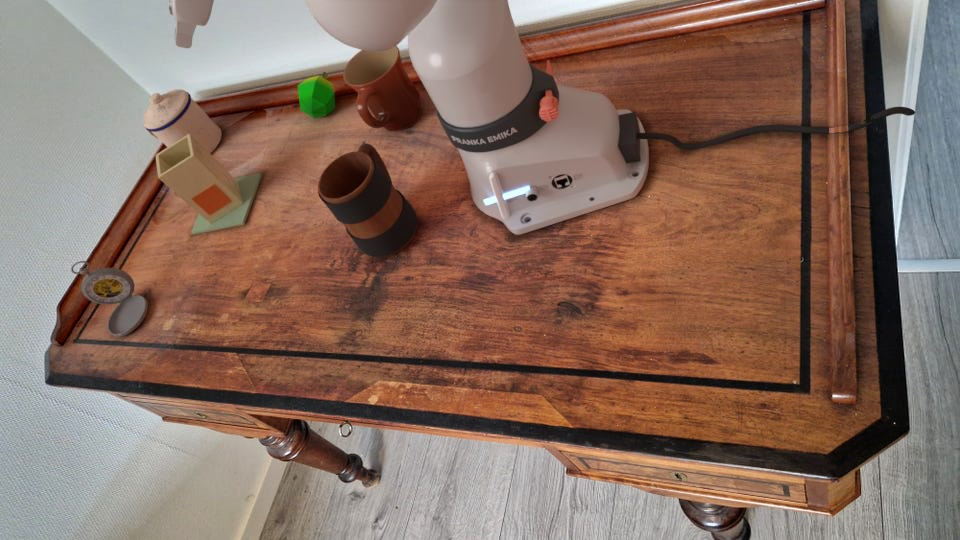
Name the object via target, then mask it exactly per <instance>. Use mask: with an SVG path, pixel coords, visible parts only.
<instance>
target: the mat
mask: <svg viewBox="0 0 960 540" xmlns="http://www.w3.org/2000/svg"><path fill="white" fill-rule="evenodd" d="M234 178H235V180H237V181H238V185H239V189H240V193H241V197H242V201H243V204H242V205H240V206H239V207H237V208H236V209H234V210H232V211H231V212H229V213H228V214H226V215H225V216H223V217H221V218H220V219H218V220H217V221H215V222H213V223H212V224H210V223H209V222H208V221H206V220H205V219H204V218H203V217H202V216H201V215H200V214H198V213H197V217H196V218H195V221H194V224H193V226H192V228H191V231H190V234H191V235H198V234H203V233H204V234H205V233H208V232H213V231H219V230H225V229H229V228H234V227H235V228H236V227H239V226H244V225H246V222H247V219H248V217H249V214H250V210H251V208H252V205H253V202H254V200H255V197H256V194H257V191H258V188H259V186H260V183H261V180H262V178H263V174H262V172H257V173H253V174H249V175H245V176H240V177H234Z"/></svg>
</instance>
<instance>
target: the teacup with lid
mask: <svg viewBox="0 0 960 540" xmlns="http://www.w3.org/2000/svg"><path fill="white" fill-rule="evenodd" d="M148 102H149V103H150V104H149V106H148V107H147V109H146V111H145V112H144V114H143V117H142V124H143V127H144V128H145V131H146V132H147V133H148V134H149V135H150V136H151V137H153V138H155V139H156V140H159V141H160V142H161V143H162V144H163V145H165V146H166V148H167V147H169V146H170V145H172V144H174V143H175V142H177V141H178V140H180V139H181V138H183V137H185V136H186V135H188V134H189V133H190V134H191V135H192V136H193V137H194V138H195V139H196V140H197V141H198V142H199V143H200V144H201V145H202V146H203V147H204V148H205V149H206V150H207V151H208V152H209V153H210V154H212V153H213V152H214V151H215V150H216V148H217V147H218V146H219V144H220V142H221V140H222V137H223V136H222V135H223V134H222V130H221V128H220V127H219V126H218V124H216V123H215V122H214V120H213V119H212V118H211V117H210V116H209V115H208V114H207V113H206V112H205V111H204V110H203V109H202V108H201V107H200V105H198V103H197V102H195V100H194V99H193V98H192V96H191V94H190V93H189V92H188V91H186V90H184V89H172V90H170V91H167V92H165V93H162V94H160V93H158V92H154V93H153V94H151V95H150V96H149V99H148Z"/></svg>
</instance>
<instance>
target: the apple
mask: <svg viewBox="0 0 960 540" xmlns="http://www.w3.org/2000/svg"><path fill="white" fill-rule="evenodd" d="M328 77H329V74H328V73H327V72H325V71H323V73H322V75H315V76H312V77H308V78H306V79H304V80H303V81H302V82H300V83H299V84H297V91H298V101H299V108H300V111H301V112H303V113H304V114H306V115H308V116H309V117H312V119H316V118H322V117H327V115H329V114H330V113H331V112H332V111H334V109H336V99H335V98H336V97H335V89H334V84H333V83H334V82H332V81H328V80H329V79H327V78H328Z"/></svg>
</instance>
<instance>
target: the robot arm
mask: <svg viewBox="0 0 960 540" xmlns="http://www.w3.org/2000/svg"><path fill="white" fill-rule="evenodd" d="M214 1H215V0H168V7H167V8H168V11H169V14H170V15H171V16H172V17H173V19H174V20H175V21H176V22H175V28H174V29H175V30H174V42H175V43H174V44H175V46H176V47H179V48H184V49H190V48H191V47H192V46H193V36H194V35H195V34H194V33H195V30H196V28H197V26H199V27H204V26H206V25H207V24H208V22H209V20H210V17H211V14H212V10H213V6H214ZM303 2H304V4H305V6H306V8H307V10H308V11H309V13H310V14H311V16H312V18H313V19H314V20H315V22H316V23H317V24H318V25H319V26H320V28H321V29H323V30H324V31H325V32H326V33H327V34H328V35H329V36H331V37H332V38H334V39H335V40H337V41H338V42H340V43H342V44H343V45H346V46H348V47H351V48H354V49H357V50H360V51H361V50H366V51H385V50H388V49H391V48H393V47H395V46H398V45H399V44H400V43H402V42H403V40H404V39H405V38H407V49H408V55H409V58H410V62H411V65H412V67H413V69H414V71H415V73H416V74H417V76H418V78H419V80H420V82H421V83H422V85H423V86H424V89H425V91H426V92H427V94H428V96H429V98H430V99H431V101H432V103H433V105H434V106H435V108H436V109H435V113H436V116H437V119H438V121H439V123H440V125H441V127H442V130H443V131H444V133H445V135H446V137H447V138H448V140H449V141H450V144H451V145H452V146H453V147H454V148H456V149H457V151H458V153H459V155H460V157H461V160H462V162H463V165H464V169H465V172H466V174H467V178H468V182H469V187H470V194H471V198H472V201H473V203H474V204H475V206H476V207H477V208H478V209H479V210H480V211H481V212H482V213H484V214H485V215H487V216H488V217H491V218H493V219H495V220H498V221H500V222H502V223H503V225H504V226H505V227H506V228H507V229H508V231H509V232H511V234H512V235H513V234H514V235H518V236H519V235H524V234H527V233H531V232H533V231H536V230H537V231H538V230H540V229H542V228H546V227H549V226H552V225H555V224H559V223H561V222H564V221H568V220H571V219H573V218H576V217H580V216H582V215H586V214H589V213H592V212H595V211H598V210H602V209H604V208H607V207H612V206H614V205H618V204H620V203H622V202H626V201H628V200H631V199H634V198H635V197H637V196H638V194H639V193H640V191H641V190H642V188H643V186H644V185H645V182H646V180H647V177H648V171H649V165H650V148H649V142H648V140H659V141H660V140H661V141H667V142H669V143H671V144H672V145H673V146H675V148H677V149H680V150H684V151H685V150H686V151H695V150H700V149H705V148H708V147H712V146H716V145H719V144H723V143H726V142H729V141H732V140H734V139H738V138H741V137H744V136H748V135H753V134H759V133H770V132H771V133H773V132H774V133H777V132H778V133H779V132H783V133H785V132H787V133H796V134H797V133H798V134H813V135H830V134H829V127H830V126H811V125H810V126H808V125H797V124H796V125H795V124H794V125H793V124H763V125H757V126H756V125H755V126H751V127H745V128H742V129H739V130H735V131H733V132H730V133H727V134H724V135H722V136H719V137H716V138H712V139H709V140H706V141H702V142H693V143H691V142H690V143H689V142H688V143H687V142H682V141H680V140H679V139H678V138H677V137H675V136H674V135H671V134H669V133H664V132H663V133H662V132H646V131H645V129H644V128H645V127H644V125H643V123H642V122H641V120H640V118H639V117H638V116H637V112H636V111H631V110H630V109H626V108H625V109H624V108H623V109H622V108H621V109H616V107H615V105H614V104H613V103H612V101H611V100H610V99H609V98H608V97H607V96H606V95H604V94H603V93H601V92H597V91H593V90H592V91H591V90H587V89H583V88H582V89H581V88H577V87H572V86H569V85H564V84H560V83H556V81H555V78H554V69H553V66H552V64H551V61H550V60H549V59H547V60H546V72H545V71H543V70H541V69H539V68H538V67H536V66H535V65H534V64H533V63H531V62H530V61H529V60H528V57H527V55H526V52H525V50H524V47H523V44H522V41H521V39H520V36H519V33H518V30H517V28H516V24H515V22H514V19H513V16H512V13H511V9H510V6H509V0H303ZM884 110H885V111H884ZM884 110H881V111H879V112H877V113H874V114H872V115H870V116H871V120H872V118H874V119H877V118H880V117H881V116H882V118H881V119H879V120H876V121H873V122H869V123H864V124H858V122H860V121H861V120H860V121H857V122H854V123H850V124H847V125H848V127H849V132H848V133H850V132H854V131H858V130H861V129H863V128H866V127H867V126H870V125H872V124H875V123H877V122H878V121H880V120H883V119H885V118H887V117H890V116H893V115H903V116H908V117H911V116H914V115H915V114H916V111H915V110H914V109H912V108H910V107H906V106H892V107H887V108H885V109H884ZM883 116H884V118H883Z"/></svg>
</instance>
